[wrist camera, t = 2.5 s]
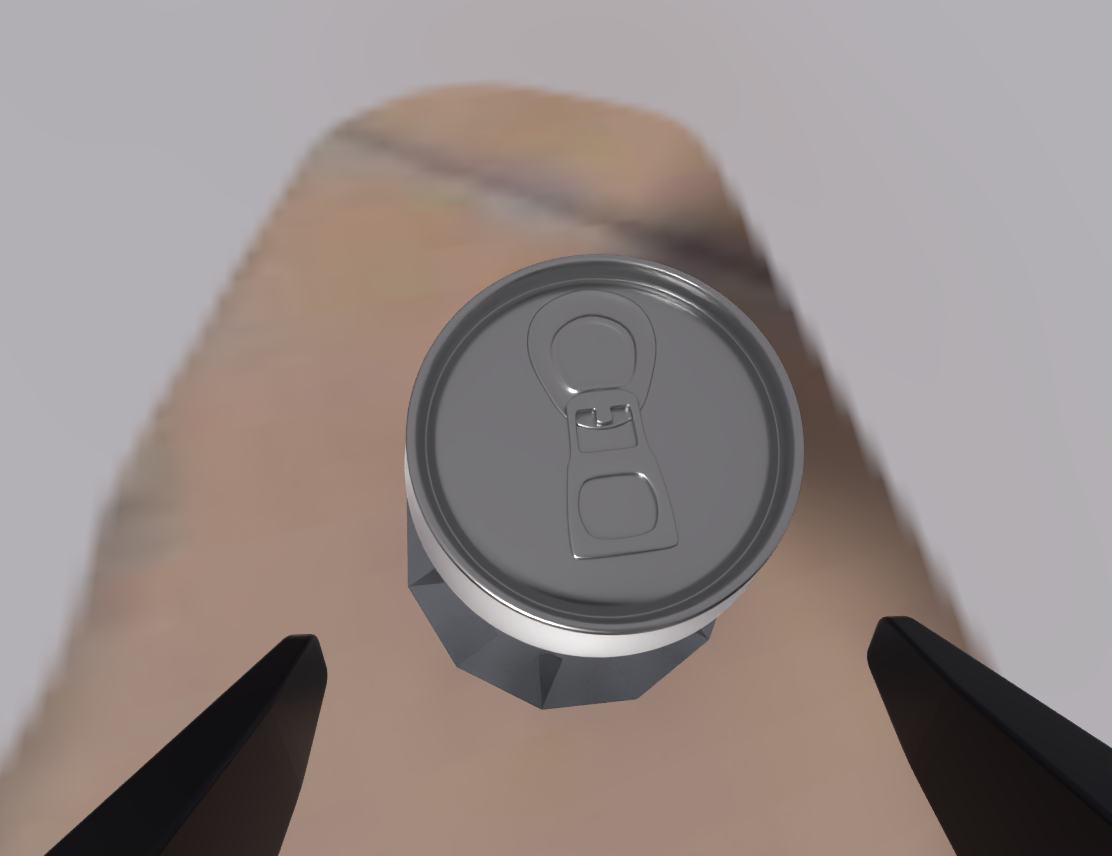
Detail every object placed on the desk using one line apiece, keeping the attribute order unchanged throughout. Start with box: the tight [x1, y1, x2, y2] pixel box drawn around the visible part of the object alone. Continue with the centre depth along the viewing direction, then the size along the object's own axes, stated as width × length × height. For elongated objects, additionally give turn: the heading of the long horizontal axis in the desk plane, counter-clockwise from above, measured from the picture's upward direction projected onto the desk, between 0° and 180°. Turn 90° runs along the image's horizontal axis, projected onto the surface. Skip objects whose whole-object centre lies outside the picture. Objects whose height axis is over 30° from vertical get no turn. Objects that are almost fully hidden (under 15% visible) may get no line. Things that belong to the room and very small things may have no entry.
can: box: [405, 254, 804, 657], centre depth 13 cm, size 6×6×12 cm
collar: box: [407, 499, 716, 710], centre depth 18 cm, size 10×10×2 cm
